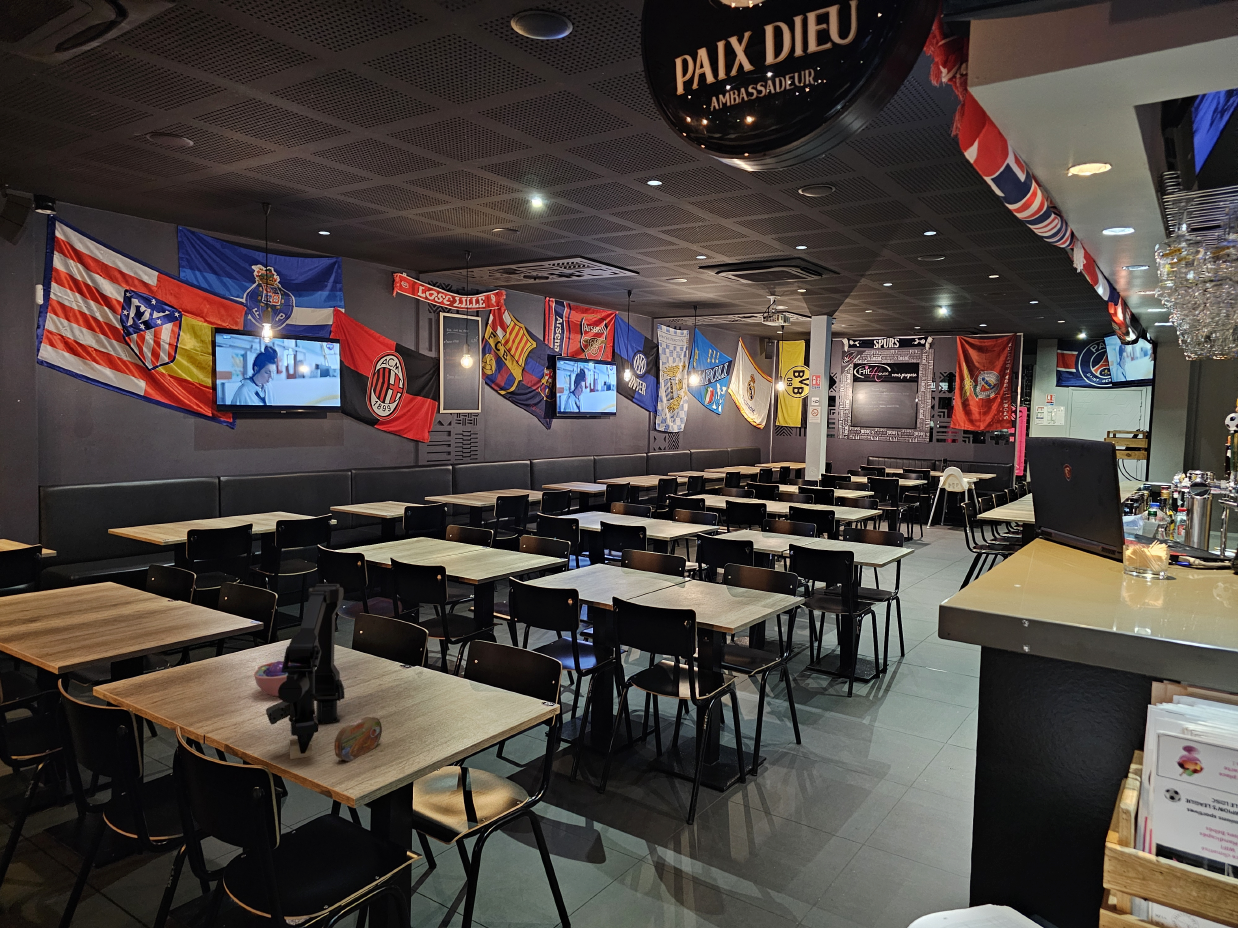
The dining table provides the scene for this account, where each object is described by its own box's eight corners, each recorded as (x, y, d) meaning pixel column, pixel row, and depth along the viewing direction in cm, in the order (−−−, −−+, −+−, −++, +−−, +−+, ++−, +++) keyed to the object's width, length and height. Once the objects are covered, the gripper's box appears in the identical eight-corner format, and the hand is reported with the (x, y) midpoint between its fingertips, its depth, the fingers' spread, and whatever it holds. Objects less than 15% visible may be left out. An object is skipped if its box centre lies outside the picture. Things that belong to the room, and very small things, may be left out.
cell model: (324, 684, 246) (325, 650, 246) (292, 705, 226) (292, 668, 226) (276, 682, 248) (276, 648, 248) (240, 702, 228) (240, 666, 228)
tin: (341, 766, 185) (341, 732, 184) (331, 763, 186) (332, 730, 186) (382, 744, 198) (383, 713, 198) (373, 742, 200) (373, 711, 199)
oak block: (289, 751, 192) (289, 739, 192) (310, 748, 195) (310, 736, 195) (290, 759, 188) (290, 746, 188) (311, 755, 190) (311, 743, 190)
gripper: (267, 683, 196) (266, 741, 196) (269, 705, 179) (268, 769, 180) (312, 677, 201) (312, 734, 201) (318, 699, 184) (318, 761, 185)
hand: (302, 749), depth 192 cm, fingers closed on oak block, 5 cm apart
